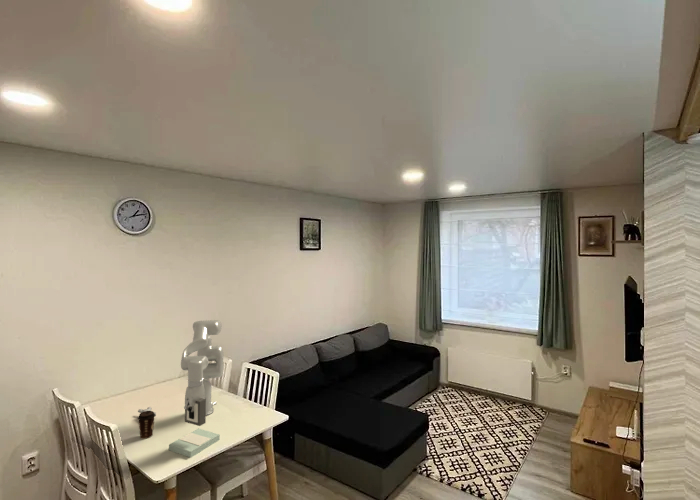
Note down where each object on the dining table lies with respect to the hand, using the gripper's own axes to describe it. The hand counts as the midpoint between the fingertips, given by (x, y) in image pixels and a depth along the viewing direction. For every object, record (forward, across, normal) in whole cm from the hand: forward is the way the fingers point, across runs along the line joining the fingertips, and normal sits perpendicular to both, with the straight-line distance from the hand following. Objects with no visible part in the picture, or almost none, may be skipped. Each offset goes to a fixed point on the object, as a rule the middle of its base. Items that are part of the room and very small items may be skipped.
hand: (195, 416), depth 207 cm
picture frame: (+3, 0, 0) cm, 3 cm away
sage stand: (+16, 0, 0) cm, 16 cm away
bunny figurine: (+16, -10, -52) cm, 56 cm away
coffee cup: (+16, +5, -32) cm, 36 cm away
